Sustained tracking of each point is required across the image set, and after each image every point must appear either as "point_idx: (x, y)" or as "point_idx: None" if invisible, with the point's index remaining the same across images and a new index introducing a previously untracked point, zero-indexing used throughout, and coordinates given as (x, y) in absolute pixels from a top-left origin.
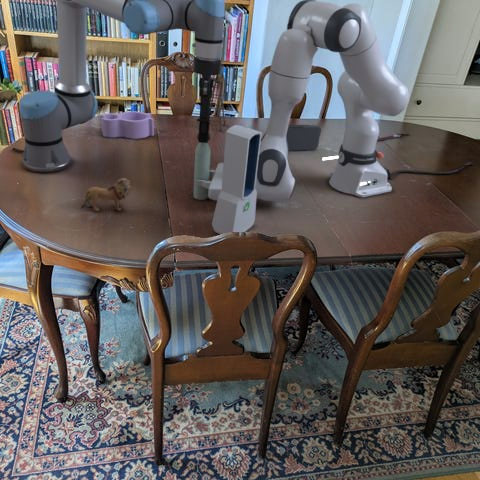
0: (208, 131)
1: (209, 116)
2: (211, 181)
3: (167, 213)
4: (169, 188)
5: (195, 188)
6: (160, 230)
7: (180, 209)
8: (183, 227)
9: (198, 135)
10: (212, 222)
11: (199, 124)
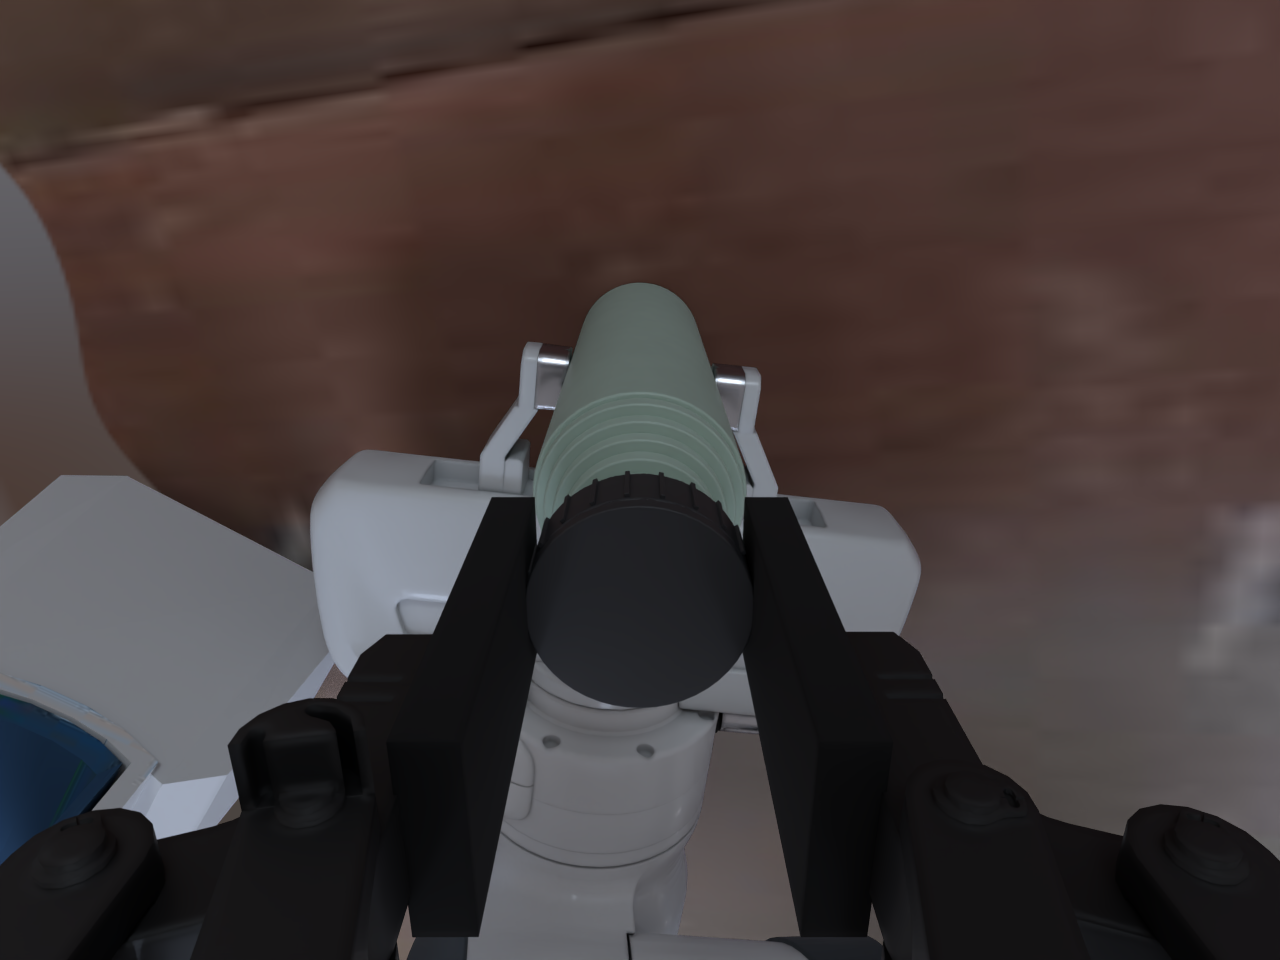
0: (752, 691)
1: (828, 934)
2: (474, 498)
3: (288, 89)
4: (749, 45)
5: (593, 315)
6: (7, 66)
7: (384, 195)
8: (119, 248)
9: (569, 525)
10: (49, 485)
11: (415, 685)
